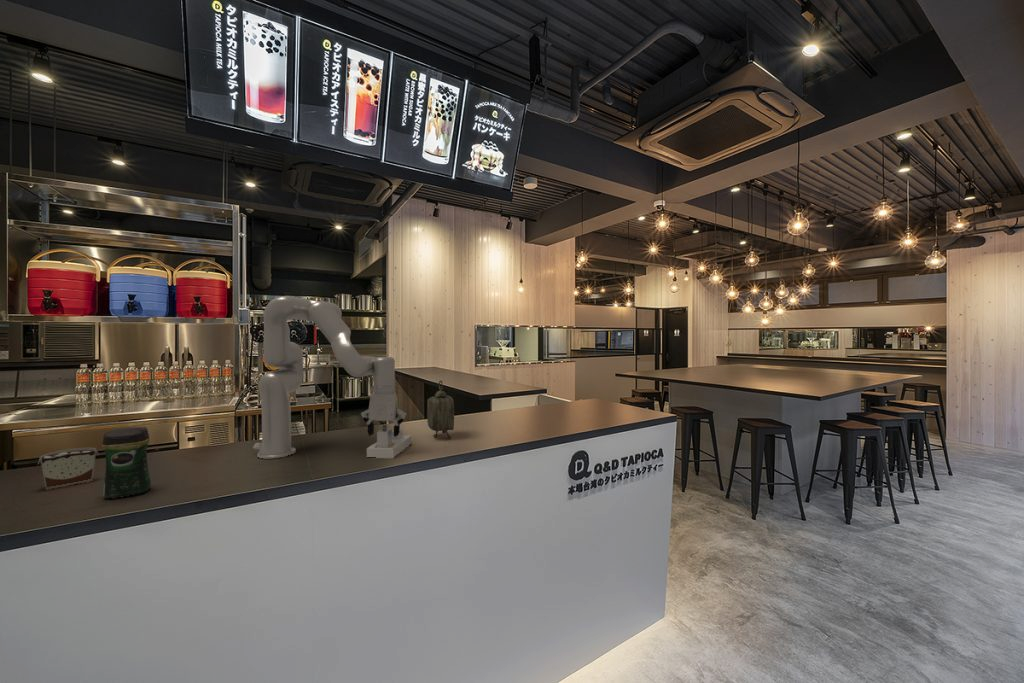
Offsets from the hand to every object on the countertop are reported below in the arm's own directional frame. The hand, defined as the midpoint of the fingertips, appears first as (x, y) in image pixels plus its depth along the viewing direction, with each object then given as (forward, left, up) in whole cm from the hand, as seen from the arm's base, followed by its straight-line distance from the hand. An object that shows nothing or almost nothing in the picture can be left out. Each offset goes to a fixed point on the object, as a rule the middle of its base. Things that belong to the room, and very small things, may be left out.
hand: (383, 435), depth 153 cm
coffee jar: (-58, -42, -8) cm, 72 cm away
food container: (-84, -36, -8) cm, 91 cm away
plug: (0, 0, -6) cm, 6 cm away
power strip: (0, +6, -7) cm, 9 cm away
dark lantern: (+14, +28, -8) cm, 32 cm away
